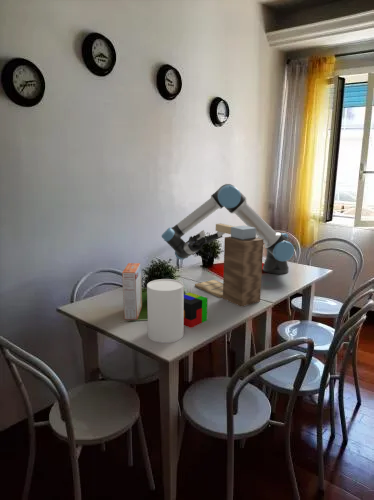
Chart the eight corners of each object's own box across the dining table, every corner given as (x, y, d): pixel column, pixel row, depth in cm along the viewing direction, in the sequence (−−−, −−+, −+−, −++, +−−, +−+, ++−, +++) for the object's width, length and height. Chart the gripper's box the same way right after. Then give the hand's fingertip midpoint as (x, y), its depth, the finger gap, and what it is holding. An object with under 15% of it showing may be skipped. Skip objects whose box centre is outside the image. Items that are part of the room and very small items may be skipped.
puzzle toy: (173, 321, 156) (172, 298, 154) (189, 314, 163) (189, 292, 161) (190, 328, 150) (191, 304, 147) (207, 320, 157) (207, 298, 155)
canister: (175, 345, 136) (175, 292, 131) (141, 339, 140) (140, 288, 136) (188, 329, 148) (188, 281, 143) (157, 324, 153) (156, 277, 148)
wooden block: (241, 293, 189) (243, 234, 182) (260, 301, 178) (263, 239, 171) (222, 298, 182) (224, 237, 175) (241, 306, 172) (244, 242, 164)
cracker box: (129, 307, 170) (127, 262, 166) (142, 307, 170) (141, 262, 165) (123, 320, 157) (121, 271, 152) (137, 320, 157) (136, 272, 152)
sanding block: (224, 231, 190) (224, 221, 189) (255, 238, 172) (256, 227, 171) (211, 232, 185) (211, 222, 184) (242, 240, 168) (243, 229, 167)
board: (214, 281, 206) (214, 279, 206) (240, 292, 190) (240, 290, 189) (194, 286, 199) (194, 283, 199) (220, 298, 182) (220, 295, 182)
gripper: (213, 249, 212) (235, 235, 195) (176, 255, 198) (196, 241, 181) (209, 236, 214) (231, 222, 196) (172, 241, 200) (192, 226, 183)
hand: (214, 231), depth 189 cm, fingers open, 13 cm apart
